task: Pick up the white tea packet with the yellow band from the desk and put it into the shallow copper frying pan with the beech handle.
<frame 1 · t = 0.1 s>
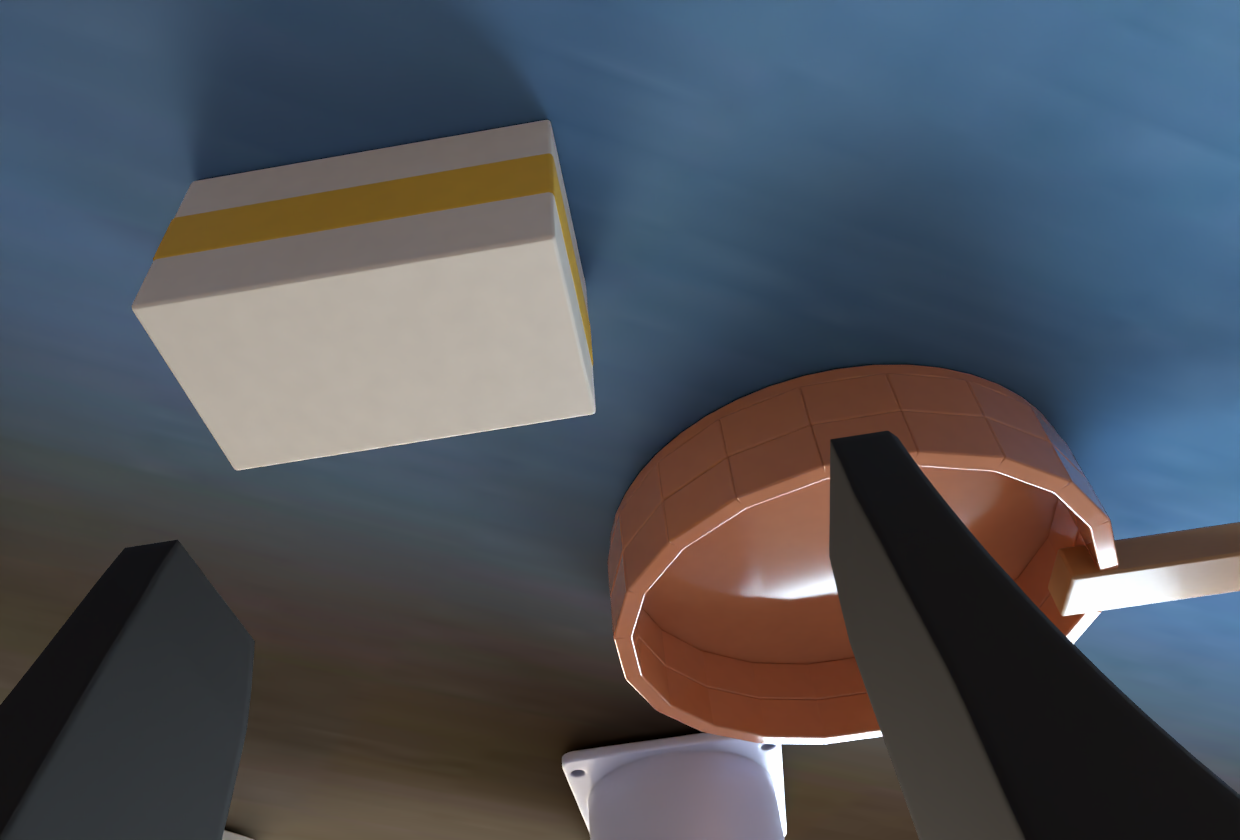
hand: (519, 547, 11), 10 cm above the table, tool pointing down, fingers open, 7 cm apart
pan: (835, 536, 27), on the table
tea packet: (400, 237, 20), on the table
pan handle: (1208, 480, 27), resting on pan
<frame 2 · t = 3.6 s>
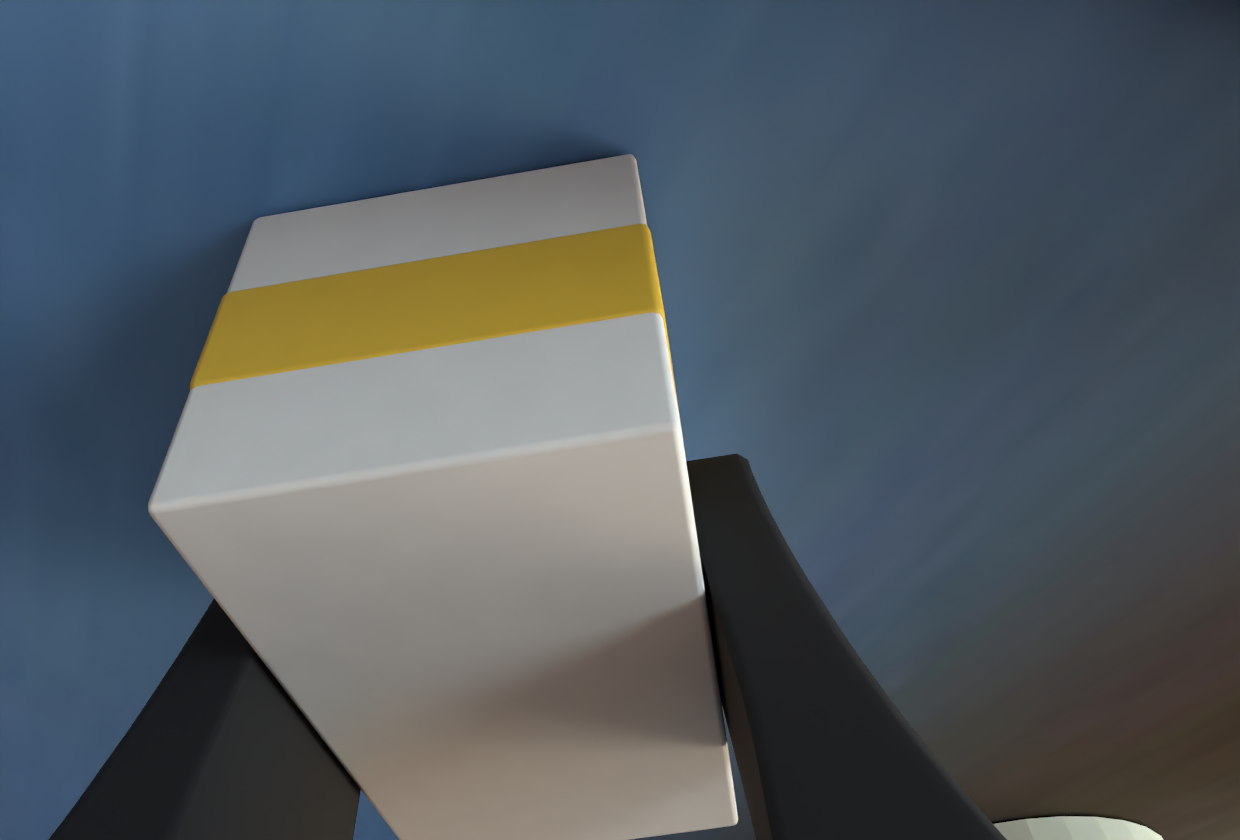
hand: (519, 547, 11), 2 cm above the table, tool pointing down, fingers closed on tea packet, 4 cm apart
tea packet: (517, 423, 12), on the table, touching gripper
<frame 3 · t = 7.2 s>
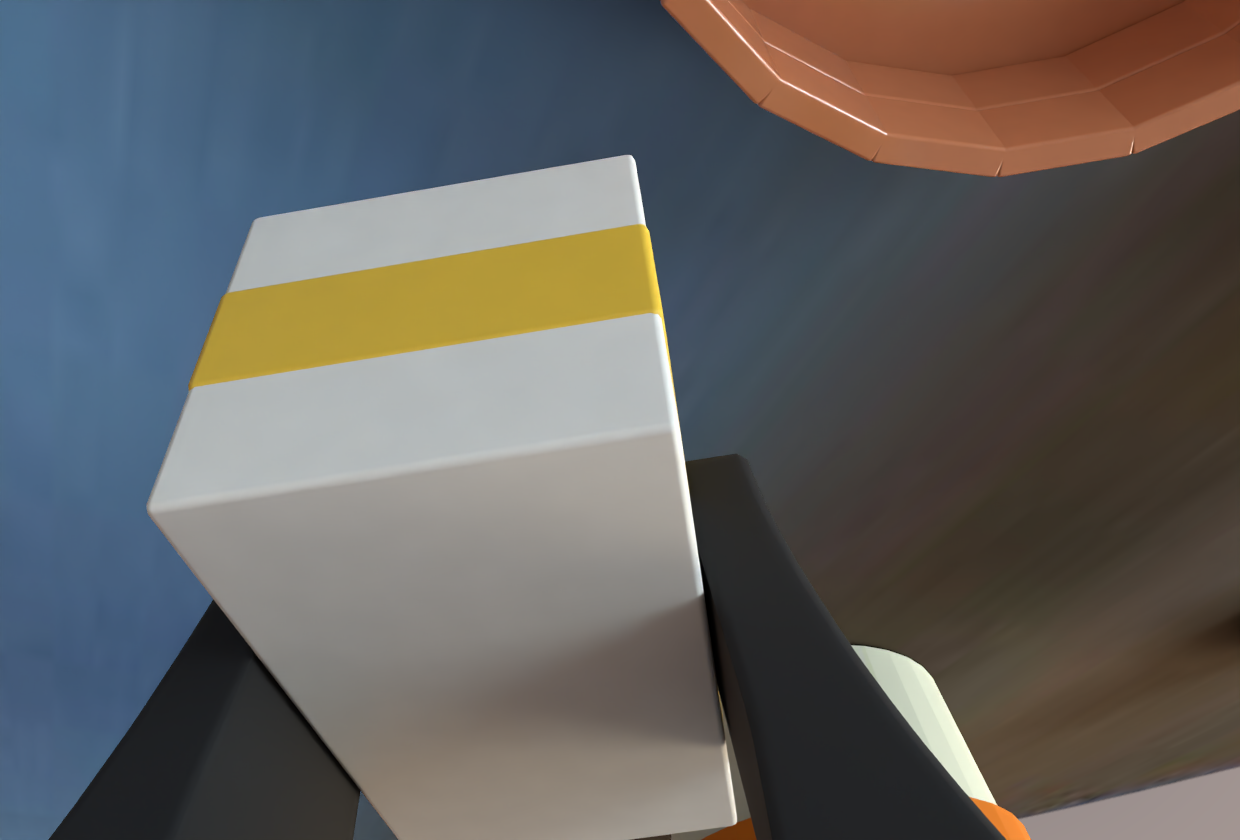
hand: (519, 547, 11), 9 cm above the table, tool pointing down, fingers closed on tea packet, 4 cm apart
tea packet: (516, 423, 12), point 7 cm above the table, touching gripper
reusable coffee cup: (802, 713, 32), on the table
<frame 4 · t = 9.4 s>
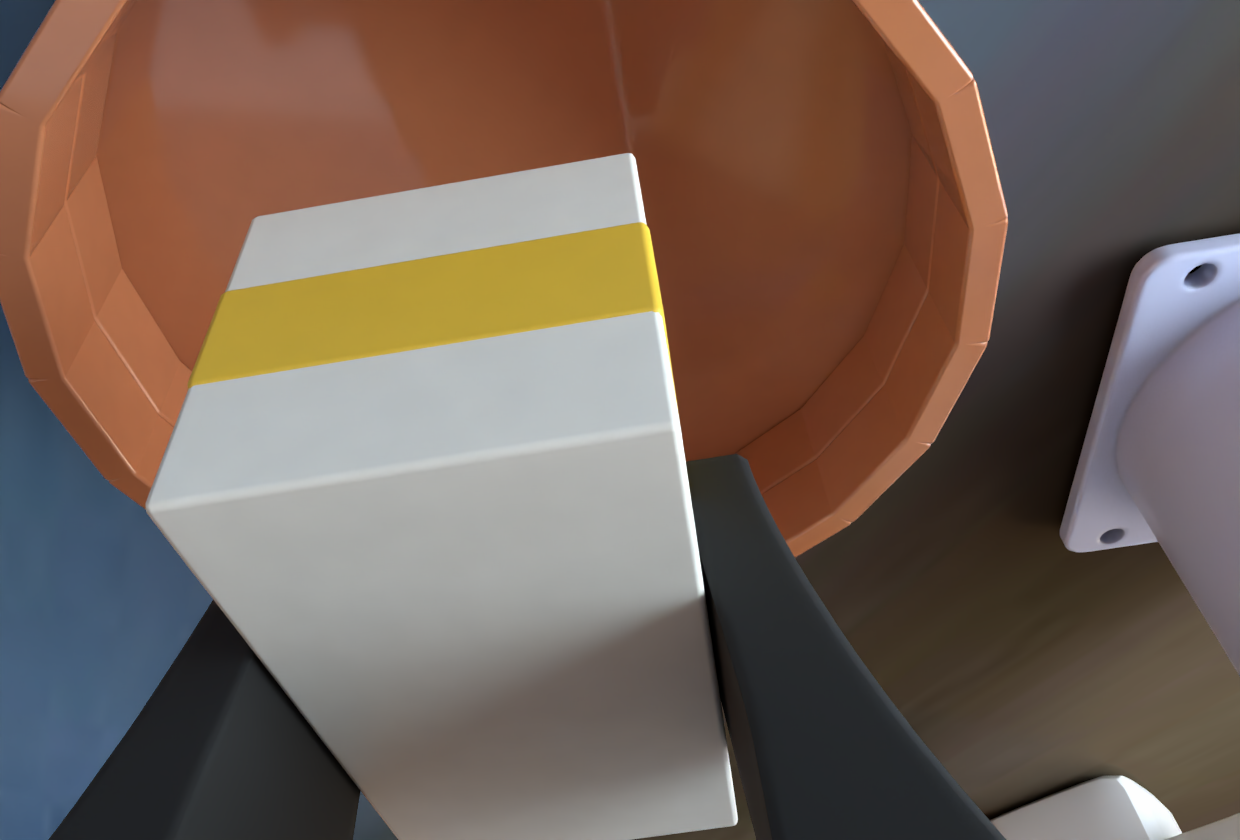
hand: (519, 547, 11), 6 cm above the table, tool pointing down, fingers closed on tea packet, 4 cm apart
pan: (522, 239, 15), on the table
power adapter: (1131, 774, 31), on the table
tea packet: (516, 422, 12), point 4 cm above the table, touching gripper
when the fingers open (2 cm above the table, at t = 11.0 s): tea packet stays where it is, resting on pan.
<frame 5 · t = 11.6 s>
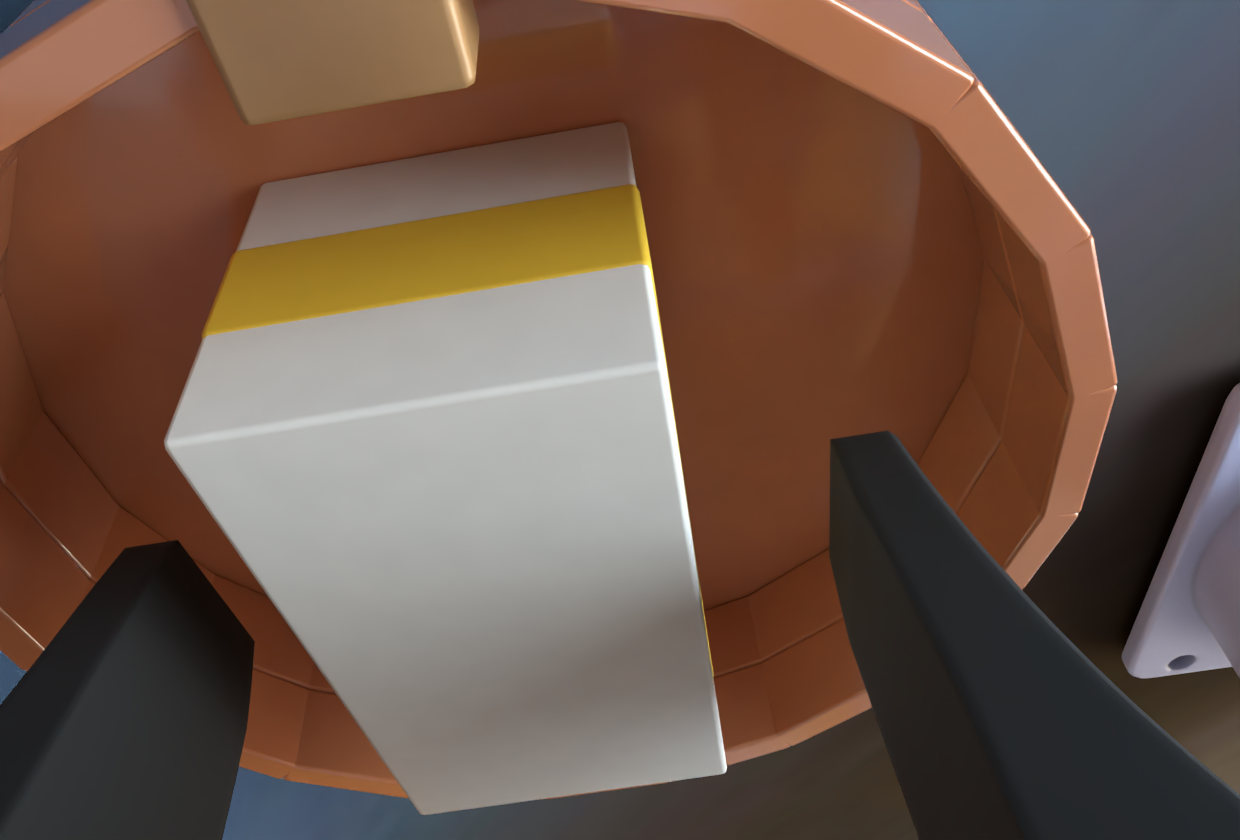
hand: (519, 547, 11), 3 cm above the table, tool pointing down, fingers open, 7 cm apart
pan: (518, 369, 13), on the table
tea packet: (513, 388, 13), resting on pan
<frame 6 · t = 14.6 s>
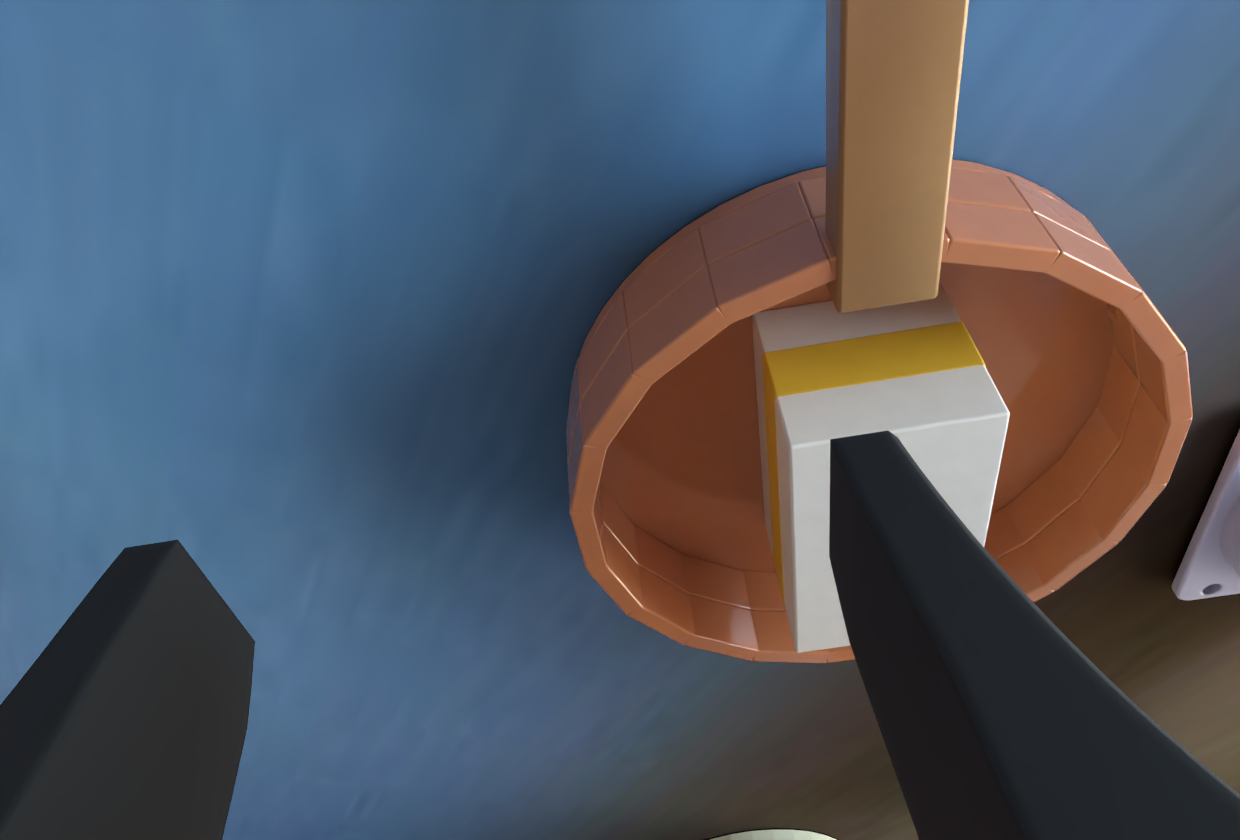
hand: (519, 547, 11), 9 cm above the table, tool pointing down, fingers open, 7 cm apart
pan: (841, 403, 23), on the table
tea packet: (843, 414, 22), resting on pan
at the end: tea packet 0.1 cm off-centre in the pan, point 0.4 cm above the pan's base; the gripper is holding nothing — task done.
